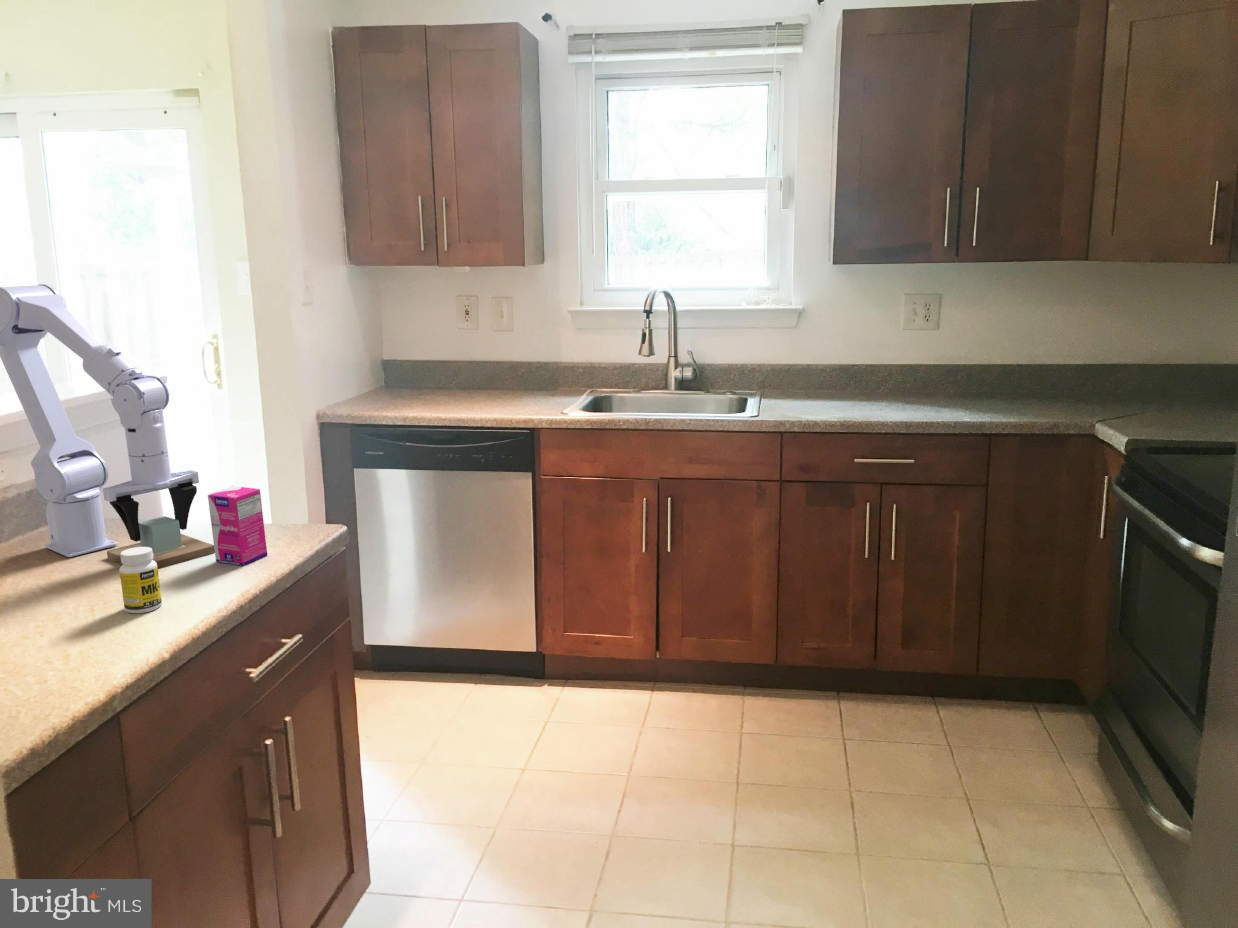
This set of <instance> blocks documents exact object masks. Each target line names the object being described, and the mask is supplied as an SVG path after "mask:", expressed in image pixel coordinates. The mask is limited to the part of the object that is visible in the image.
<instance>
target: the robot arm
mask: <svg viewBox="0 0 1238 928" xmlns="http://www.w3.org/2000/svg"><path fill="white" fill-rule="evenodd" d="M48 333H49V334H51V335H52V336H53V337H54V338H55V339H57V340H58V341H59V342H60V343H61V344H63V345H64V346H65V347H67V348H68V349H69V350H70V351H72V352H73V353H74V354H75V355H77V356H78V357H79V358H81V359H82V369H83V371H84V372H85V373H86V374H87V375H88V376H89V377H90V378H91V379H93V380H94V382H96V383H97V384H98V385H99V386H100V387H101V388H102V389H103V390H104V391H105V392H106V393H108V394H109V395H110V396H111V397H112V398H111V399H110V402H111V405H112V407H113V409H114V410H115V412H116V413H117V414H118V417H119V420H120V422H119V423H120V424H121V425H122V428H124V433H125V440H126V448H127V454H128V455H127V457H128V463H129V471H130V476H131V480H128V481H125V482H122V483H118V484H114V485H111V486H107V487H104V486H105V485H106V484H107V482H108V479H109V469H108V466H107V463H106V461H105V460H104V458H102V457H101V456H100V455H99V453H97V451H96V448H95V447H94V444H93V443H91V442H89V441H87V440H86V439H83V438H81V437H80V436H78V435H76V433H75V431H74V428H73V426H72V424H71V420H70V419H69V417H68V414H67V412H66V410H65V408H64V406H63V403H62V402H61V401H62V400H61V398H60V397H59V394H58V392H57V389H56V388H55V385H54V382H53V380H52V379H51V376H50V373H49V371H48V369H47V367H46V365H45V362H44V360H43V357H42V355H41V353H40V351H39V347H38V346H39V344H40V342H41V340H42V339H44V338H45V337H46V336H47V334H48ZM0 359H1V363H2V364H3V366H4V369H5V371H6V373H7V376H8V378H9V379H10V380H9V381H10V382H11V384H12V387H13V388H14V392H15V393H16V395H17V398H18V400H19V403H20V404H21V407H22V409H23V411H24V414H25V416H26V418H27V420H28V423H29V424H30V427H31V429H32V432H33V434H34V436H35V438H36V440H37V443H38V445H39V448H38V450H37V452H36V453H35V455H34V456H33V458H32V459H31V460H30V461H31V462H30V465H31V468H32V469H33V472H34V482H35V483H34V484H35V487H36V489H37V491H38V492H39V494H40V495H41V496H42V497H43V498H44V499H46V502H47V505H46V508H45V515H46V522H47V528H48V534H49V540H50V541H49V543H46V544H45V545H44V547H45V548H46V549H48V550H51V551H53V552H54V553H57V554H60V555H62V556H64V557H66V558H71V557H75V556H79V555H83V554H88V553H92V552H95V551H100V550H103V549H107V548H112V547H115V546H118V542H116V541H115V540H111V539H109V538H107V531H106V526H105V520H104V512H103V511H104V510H103V505H102V499H101V493H103V499H104V501H107V502H108V503H109V504H110V505H111V507H112V508H113V509H114V510H115V512H116V514H118V517H120V519H121V521H122V523H123V524H124V526H125V529H126V531H127V533H128V536H129V539H130V540H131V541H132V542H140V540H141V536H140V529H139V523H138V522H139V504H140V502H138V501H136V500H134V496H138V495H143V494H148V493H152V492H158V491H163V490H168V493H169V495H170V498H171V501H172V502H171V503H172V506H173V512H174V513H173V514H174V519H176V520H179V526H180V530H182V531H184V530H187V529H188V521H189V520H188V519H189V515H190V509H191V506H192V504H193V501H194V498H195V496H196V495H197V493H198V490H197V488H198V487H197V486H196V484H199V483H200V479H199V477H200V476H199V471H196V470H185V471H179V472H171V467H170V459H169V458H170V457H169V452H168V451H169V450H168V442H167V434H166V427H165V420H164V419H165V418H164V412H163V411H164V410H165V409H166V407H168V404H169V403H170V402H169V401H170V393H169V389H168V387H167V384H165V383H164V382H163V381H162V379H161V377H159V376H156V375H152V374H150V375H148V374H147V373H145V372H142V371H141V370H140V369H139V368H138V367H137V366H135V365H134V364H133V363H131V361H130V360H129V359H127V358H126V357H125V356H124V355H123V354H122V350H120V349H119V348H118V347H117V346H113V345H110V344H104V345H101V344H100V343H99V342H98V341H97V340H96V339H95V337H94V336H93V335H92V334H91V333H90V332H89V331H88V330H87V329H86V328H85V326H83V325H82V323H80V321H79V320H78V319H77V318H76V317H75V316H74V315H73V313H71V312H70V311H69V310H68V308H67V302H66V299H65V297H64V296H63V295H61V294H59V293H58V291H57V290H56V289H55V287H53V286H51V285H49V284H47V283H46V284H45V283H40V284H36V285H21V286H20V285H18V286H0ZM61 459H62V460H61ZM58 460H59V461H58Z"/></svg>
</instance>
